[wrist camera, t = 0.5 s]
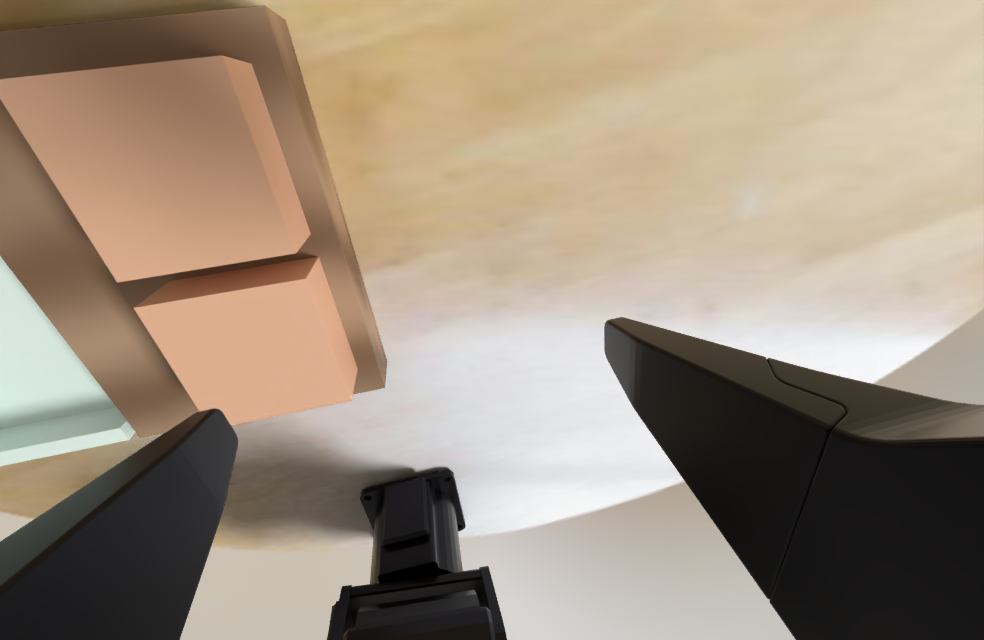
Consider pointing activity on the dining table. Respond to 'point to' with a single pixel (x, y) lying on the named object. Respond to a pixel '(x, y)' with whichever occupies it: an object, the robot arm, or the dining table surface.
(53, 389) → the tray
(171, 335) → the tile
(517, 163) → the dining table surface
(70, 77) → the tile
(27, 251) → the board
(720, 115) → the dining table surface
